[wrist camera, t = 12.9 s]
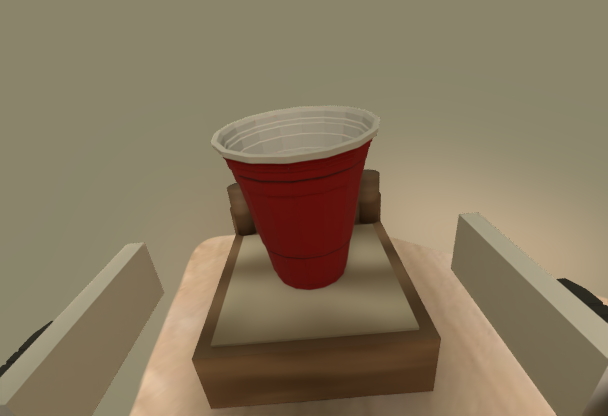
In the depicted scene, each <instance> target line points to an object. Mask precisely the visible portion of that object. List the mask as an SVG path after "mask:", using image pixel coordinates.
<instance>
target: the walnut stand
mask: <svg viewBox="0 0 608 416" xmlns="http://www.w3.org/2000/svg"><path fill="white" fill-rule="evenodd" d="M227 191H228V194H229V199H230V204H231V208H230V211H231V215H232V220H233V224H234V228H235V233H236V236H235V239H234V242H233V245H232V247H231V250H230V253H229V256H228V259H227V261H226V264H225V267H224V270H223V273H222V276H221V278H220V281H219V284H218V287H217V290H216V293H215V295H214V298H213V301H212V304H211V307H210V310H209V312H208V315H207V318H206V321H205V324H204V326H203V329H202V332H201V335H200V338H199V341H198V343H197V346H196V349H195V352H194V355H193V358H192V361H193V364H194V366H195V369H196V371H197V374H198V376H199V379H200V382H201V384H202V387H203V389H204V392H205V394H206V397H207V399H208V402H209V404H210V407H211V409H212V408H225V407H237V406H250V405H262V404H275V403H287V402H300V401H312V400H325V399H337V398H350V397H362V396H375V395H387V394H400V393H412V392H425V391H433V388H434V381H435V374H436V368H437V361H438V354H439V348H440V341H441V338H440V336H439V334H438V332H437V330H436V328H435V326H434V324H433V322H432V320H431V318H430V316H429V314H428V313H427V311H426V309H425V307H424V305H423V303H422V301H421V299H420V297H419V295H418V293H417V291H416V289H415V287H414V285H413V283H412V282H411V280H410V278H409V276H408V274H407V272H406V270H405V268H404V266H403V264H402V262H401V260H400V258H399V256H398V254H397V252H396V250H395V249H394V247H393V245H392V243H391V241H390V239H389V237H388V235H387V233H386V231H385V229H384V227H383V225H382V223H381V221H380V206H381V205H380V203H381V194H380V192H379V172H378V171H375V170H363V173H362V177H361V183H360V189H359V196H358V202H357V208H356V215H355V221H354V228H353V232H352V237H351V240H350V246H349V253H348V260H347V264H346V268H345V269H344V274H343V275H342V276H341V277H340V278H339V279H338V280H337V281H336V282H334V283H332V284H330V285H328V286H326V287H324V288H319V289H313V290H304V289H295V288H293V287H291V286H289V285H286V284H284V283H283V281H282V280H281V279H280V278H279V277H278V275H277V273H276V272H275V270H274V268H273V265H272V263H271V260H270V257H269V255H268V252H267V250H266V247H265V245H264V244H263V243H262V240H261V238H260V235H259V233H258V231H257V228H256V226H255V223H254V221H253V218H252V216H251V213H250V211H249V208H248V206H247V203H246V201H245V198H244V196H243V193H242V191H241V189H240V186H239V184H238V183H234V184H232V185H230V186H228V187H227Z"/></svg>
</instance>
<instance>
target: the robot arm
mask: <svg viewBox="0 0 608 416" xmlns="http://www.w3.org/2000/svg"><path fill="white" fill-rule="evenodd" d="M451 269H452V271H453V272H454V273H455V275H456V276H457V278H458V279H459V280H460V282H461V283H462V285H463V286H464V287H465V289H466V290H467V291H468V293H469V294H470V296H471V297H472V298H473V300H474V301H475V303H476V304H477V305H478V307H479V308H480V309H481V311H482V312H483V314H484V315H485V316H486V318H487V319H488V321H489V322H490V323H491V325H492V326H493V327H494V329H495V330H496V332H497V333H498V334H499V336H500V337H501V339H502V340H503V341H504V343H505V344H506V345H507V347H508V348H509V350H510V351H511V352H512V354H513V355H514V357H515V358H516V359H517V361H518V362H519V363H520V365H521V366H522V368H523V369H524V370H525V372H526V373H527V375H528V376H529V377H530V379H531V380H532V381H533V383H534V384H535V386H536V387H537V388H538V390H539V391H540V393H541V394H542V395H543V397H544V398H545V400H546V401H547V402H548V404H549V405H550V406H551V408H552V409H553V411H554V412H555V413H556V415H557V416H608V306H607V305H603V302H602V301H601V300H599V299H598V298H597V297H596V296H594V295H593V294H592V293H590V292H589V291H588V290H587V289H585V288H583V287H581V286H579V285H577V284H575V283H573V282H571V281H569V280H567V279H565V278H564V279H555V278H554V277H553V276H552V275H550V274H549V273H548V272H547V271H546V270H545V269H543V268H542V267H541V266H540V265H539V264H538V263H536V262H535V261H534V260H533V259H532V258H531V257H529V256H528V255H527V254H526V253H525V252H524V251H522V250H521V249H520V248H519V247H518V246H517V245H515V244H514V243H513V242H512V241H511V240H510V239H508V238H507V237H506V236H505V235H504V234H502V233H501V232H500V231H499V230H498V229H497V228H496V227H494V226H493V225H492V224H491V223H490V222H489V221H487V220H486V219H485V218H484V217H483V216H482V215H480V214H479V213H467V214H459V218H458V225H457V231H456V238H455V245H454V252H453V258H452V265H451ZM163 294H164V290H163V288H162V285H161V283H160V280H159V278H158V275H157V273H156V270H155V268H154V265H153V263H152V260H151V258H150V255H149V252H148V250H147V247H146V245H145V243H144V242H143V243H132V244H126V245H125V247H124V248H123V249H122V250H121V251H120V252H119V253H118V254H117V255H116V256H115V257H114V258H113V259H112V260H111V261H110V262H109V263H108V265H106V267H105V268H104V269H103V270H102V271H101V272H100V273H99V274H98V275H97V276H96V277H95V278H94V279H93V280H92V281H91V282H90V284H88V286H87V287H86V288H85V289H84V290H83V291H82V292H81V293H80V294H79V295H78V296H77V297H76V298H75V299H74V300H73V301H72V302H71V303H70V305H69V306H68V307H67V308H66V309H65V310H64V311H63V312H62V313H61V314H60V315H59V316H58V317H57V319H55V320H54V321H51V322H49V323H48V324H47V325H45V326H44V327H42V328H41V329H40V330H38V331H37V332H35V333H34V334H33V335H32V336H31V337H30V338H29V339H28V340H27V341H26V342H25V343H24V344H23V345H22V346H21V347H20V348H19V351H18V352H15V353H14V354H13V355H12V356H11V357H10V358H9V359H8V360H7V361H6V362H7V363H6V365H2V366H1V367H0V416H92V415H93V413H94V411H95V409H96V408H97V406H98V404H99V403H100V401H101V399H102V398H103V396H104V394H105V392H106V391H107V389H108V387H109V385H110V384H111V382H112V380H113V379H114V377H115V375H116V374H117V372H118V370H119V368H120V367H121V365H122V364H123V362H124V360H125V358H126V357H127V355H128V353H129V352H130V350H131V348H132V347H133V345H134V343H135V341H136V340H137V338H138V336H139V334H140V333H141V331H142V329H143V328H144V326H145V324H146V323H147V321H148V319H149V318H150V316H151V314H152V312H153V311H154V309H155V307H156V306H157V304H158V302H159V300H160V299H161V297H162V296H163Z"/></svg>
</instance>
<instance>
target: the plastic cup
mask: <svg viewBox="0 0 608 416" xmlns="http://www.w3.org/2000/svg"><path fill="white" fill-rule="evenodd" d="M379 123H380V118H379V117H378V116H376V115H375V114H373V113H371V112H370V111H367V110H363V109H358V108H354V107H347V106H327V105H325V106H305V107H295V108H288V109H281V110H274V111H270V112H265V113H261V114H257V115H253V116H249V117H246V118H244V119H241V120H238V121H235V122H233V123H230V124H228V125H226V126H225V127H224V128H222V129H220V130H219V131H217V132H215V134H214V136H213V138H212V141H211V144H212V146H213V148H214V149H215V150H216V151H217V152H218V153H219V154H221V155H222V156H223V158H224V159H225V160H226V162H227V165H228V167H229V169H231V170H232V173H233V175H234V177H235V180H236V182H237V183H238V184H239V186H240V189H241V191H242V193H243V196H244V198H245V201H246V203H247V206H248V208H249V211H250V213H251V216H252V218H253V221H254V223H255V226H256V228H257V231H258V233H259V235H260V238H261V240H262V243H263V244H264V245H265V247H266V250H267V252H268V255H269V257H270V260H271V263H272V265H273V268H274V270H275V272H276V273H277V275H278V277H279V278H280V279H281V280H282V281H283V283H284V284H286V285H289V286H291V287H293V288H295V289H304V290H313V289H319V288H324V287H326V286H328V285H330V284H332V283H334V282H336V281H337V280H338V279H339V278H340V277H341V276H342V275H343V274H344V269H345V268H346V264H347V260H348V253H349V246H350V240H351V237H352V232H353V228H354V221H355V215H356V208H357V202H358V196H359V189H360V183H361V177H362V173H363V169H364V165H365V160H366V157H367V153H368V149H369V147H370V142H371V141H372V139H373V137H375V136H376V135H377V132H378V128H379Z"/></svg>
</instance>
